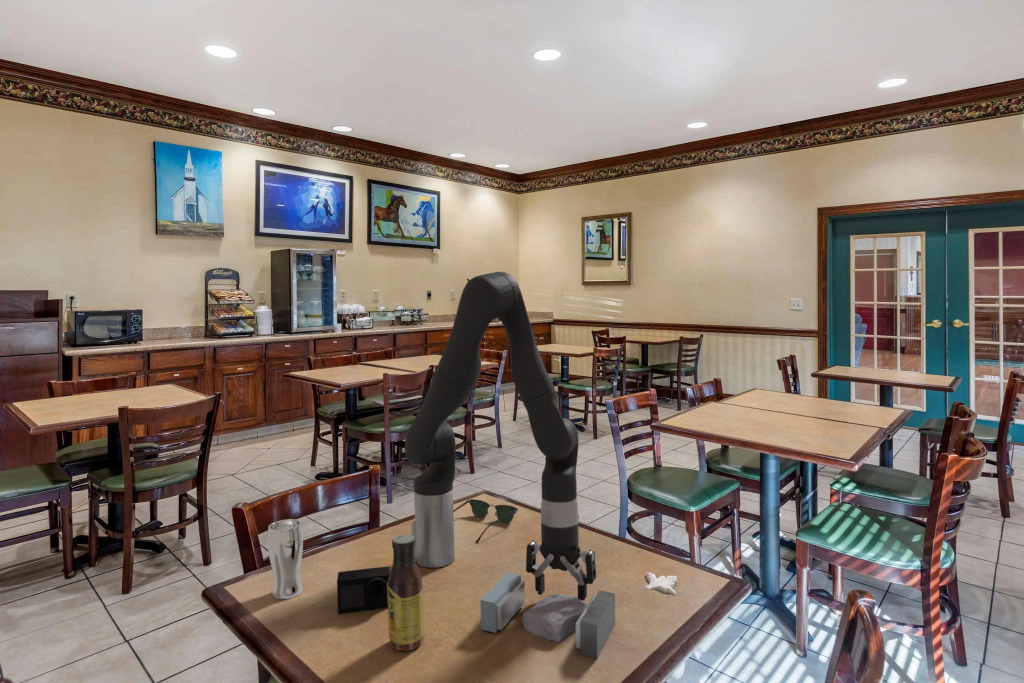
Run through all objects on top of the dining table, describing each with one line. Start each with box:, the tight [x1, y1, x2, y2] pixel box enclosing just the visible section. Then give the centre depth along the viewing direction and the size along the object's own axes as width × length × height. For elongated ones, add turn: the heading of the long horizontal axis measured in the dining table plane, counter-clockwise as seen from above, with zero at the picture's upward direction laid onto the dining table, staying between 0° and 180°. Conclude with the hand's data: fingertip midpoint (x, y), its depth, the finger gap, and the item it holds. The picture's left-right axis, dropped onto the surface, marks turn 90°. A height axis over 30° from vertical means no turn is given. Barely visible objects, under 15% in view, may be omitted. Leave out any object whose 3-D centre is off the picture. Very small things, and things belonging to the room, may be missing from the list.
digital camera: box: [336, 565, 390, 615], centre depth 119 cm, size 10×5×7 cm, turn 103°
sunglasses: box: [453, 498, 519, 543], centre depth 160 cm, size 16×17×5 cm
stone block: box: [522, 593, 589, 643], centre depth 112 cm, size 12×5×10 cm
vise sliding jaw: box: [479, 572, 526, 634], centre depth 114 cm, size 4×12×6 cm, turn 155°
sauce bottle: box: [387, 533, 425, 652], centre depth 105 cm, size 6×6×20 cm
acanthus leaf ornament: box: [643, 572, 678, 596], centre depth 126 cm, size 8×7×2 cm
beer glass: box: [267, 518, 304, 600], centre depth 125 cm, size 7×7×15 cm
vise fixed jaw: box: [575, 590, 616, 660], centre depth 106 cm, size 4×12×6 cm, turn 155°
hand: (561, 597), depth 118 cm, fingers open, 8 cm apart
